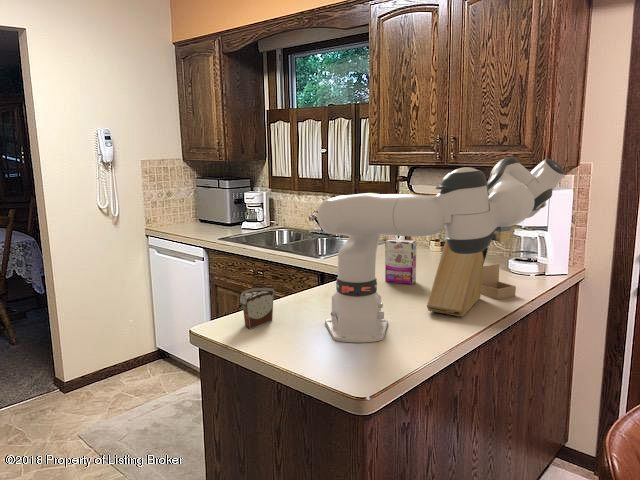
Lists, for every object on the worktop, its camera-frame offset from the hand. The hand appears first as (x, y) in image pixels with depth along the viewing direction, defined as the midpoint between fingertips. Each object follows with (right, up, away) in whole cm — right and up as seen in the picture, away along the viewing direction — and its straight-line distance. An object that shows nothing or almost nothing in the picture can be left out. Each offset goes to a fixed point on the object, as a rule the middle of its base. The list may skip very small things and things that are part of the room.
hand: (499, 224), depth 183 cm
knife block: (-15, -27, -5) cm, 31 cm away
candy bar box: (-31, -22, +23) cm, 44 cm away
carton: (+1, -25, +4) cm, 25 cm away
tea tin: (0, -5, 0) cm, 5 cm away
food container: (-82, -31, -22) cm, 91 cm away
